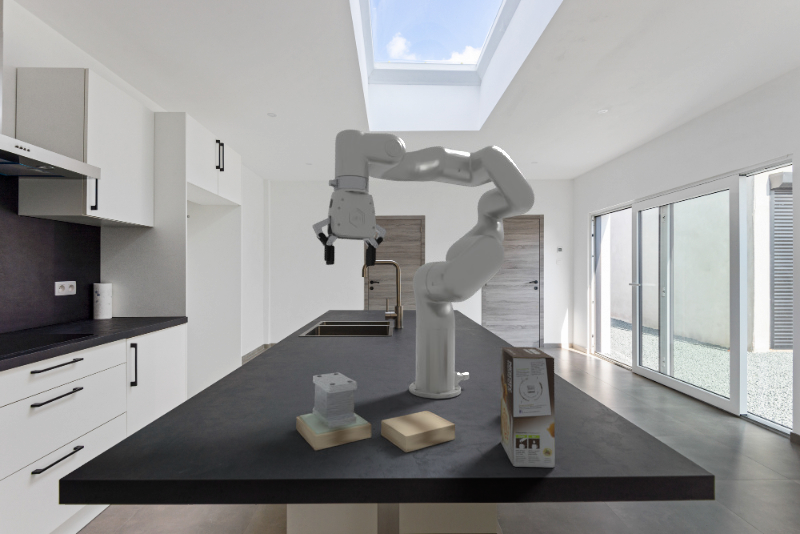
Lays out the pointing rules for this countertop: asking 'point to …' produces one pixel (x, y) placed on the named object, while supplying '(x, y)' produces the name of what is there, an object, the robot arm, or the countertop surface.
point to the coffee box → (527, 406)
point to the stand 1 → (331, 432)
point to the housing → (334, 399)
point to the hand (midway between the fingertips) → (350, 265)
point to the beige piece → (417, 430)
